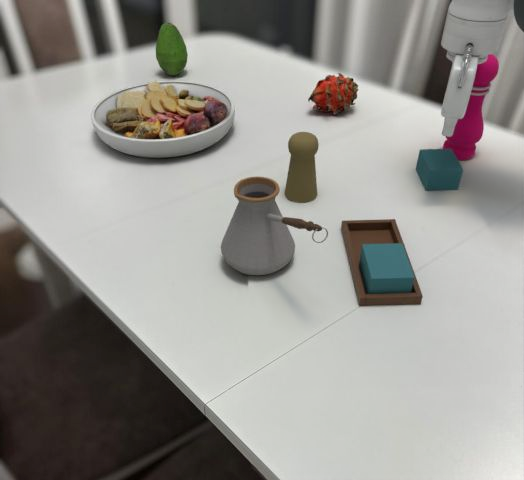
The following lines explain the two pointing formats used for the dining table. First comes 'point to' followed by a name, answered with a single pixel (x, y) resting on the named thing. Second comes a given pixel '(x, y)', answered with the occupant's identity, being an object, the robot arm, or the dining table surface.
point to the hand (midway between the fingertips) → (449, 122)
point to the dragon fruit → (334, 94)
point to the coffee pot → (260, 229)
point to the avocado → (171, 50)
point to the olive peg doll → (302, 168)
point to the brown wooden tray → (353, 240)
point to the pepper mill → (473, 113)
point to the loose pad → (439, 169)
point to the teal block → (385, 269)
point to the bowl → (163, 118)
